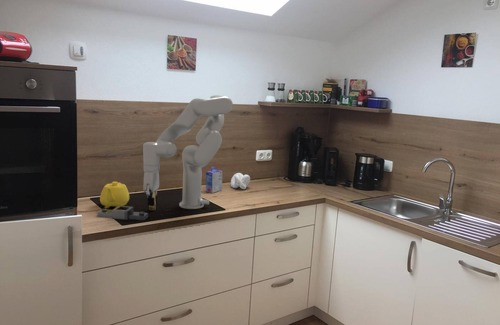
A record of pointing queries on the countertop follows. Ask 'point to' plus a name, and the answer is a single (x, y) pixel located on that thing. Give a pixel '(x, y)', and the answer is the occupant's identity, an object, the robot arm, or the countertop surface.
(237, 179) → the white twisted lump
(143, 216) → the chain ends
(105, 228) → the countertop surface
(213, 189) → the ink cartridge box
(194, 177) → the robot arm
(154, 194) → the pin
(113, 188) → the teapot
